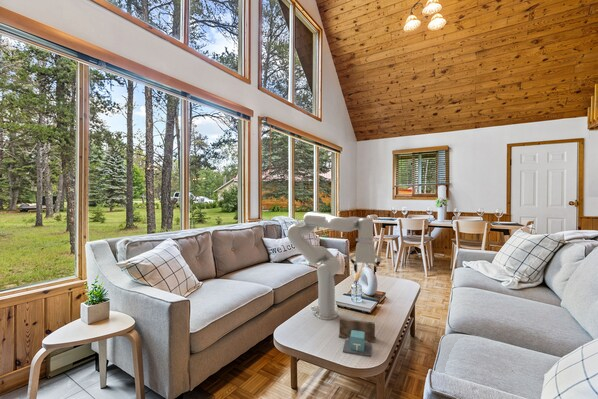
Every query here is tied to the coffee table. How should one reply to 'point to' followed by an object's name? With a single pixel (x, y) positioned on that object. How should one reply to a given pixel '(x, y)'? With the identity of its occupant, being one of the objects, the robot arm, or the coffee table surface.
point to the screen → (357, 328)
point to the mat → (366, 351)
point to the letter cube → (357, 340)
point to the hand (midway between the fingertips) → (365, 272)
